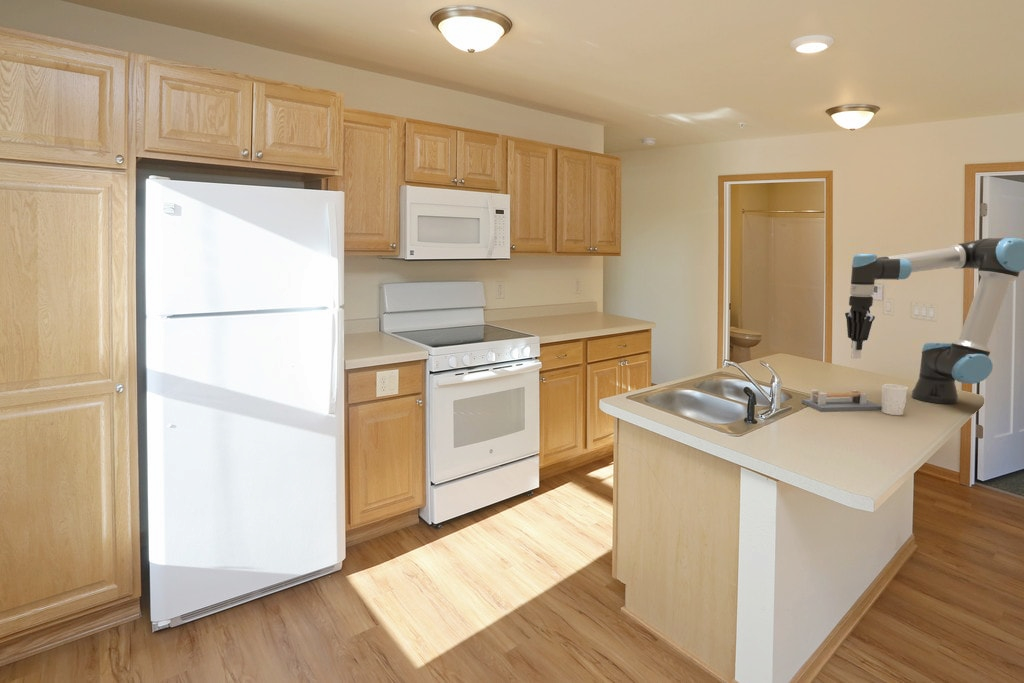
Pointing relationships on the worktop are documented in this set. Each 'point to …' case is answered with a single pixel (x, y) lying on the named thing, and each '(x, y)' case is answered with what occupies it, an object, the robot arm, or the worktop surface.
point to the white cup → (893, 399)
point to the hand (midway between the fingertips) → (855, 357)
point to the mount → (840, 403)
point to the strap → (841, 394)
